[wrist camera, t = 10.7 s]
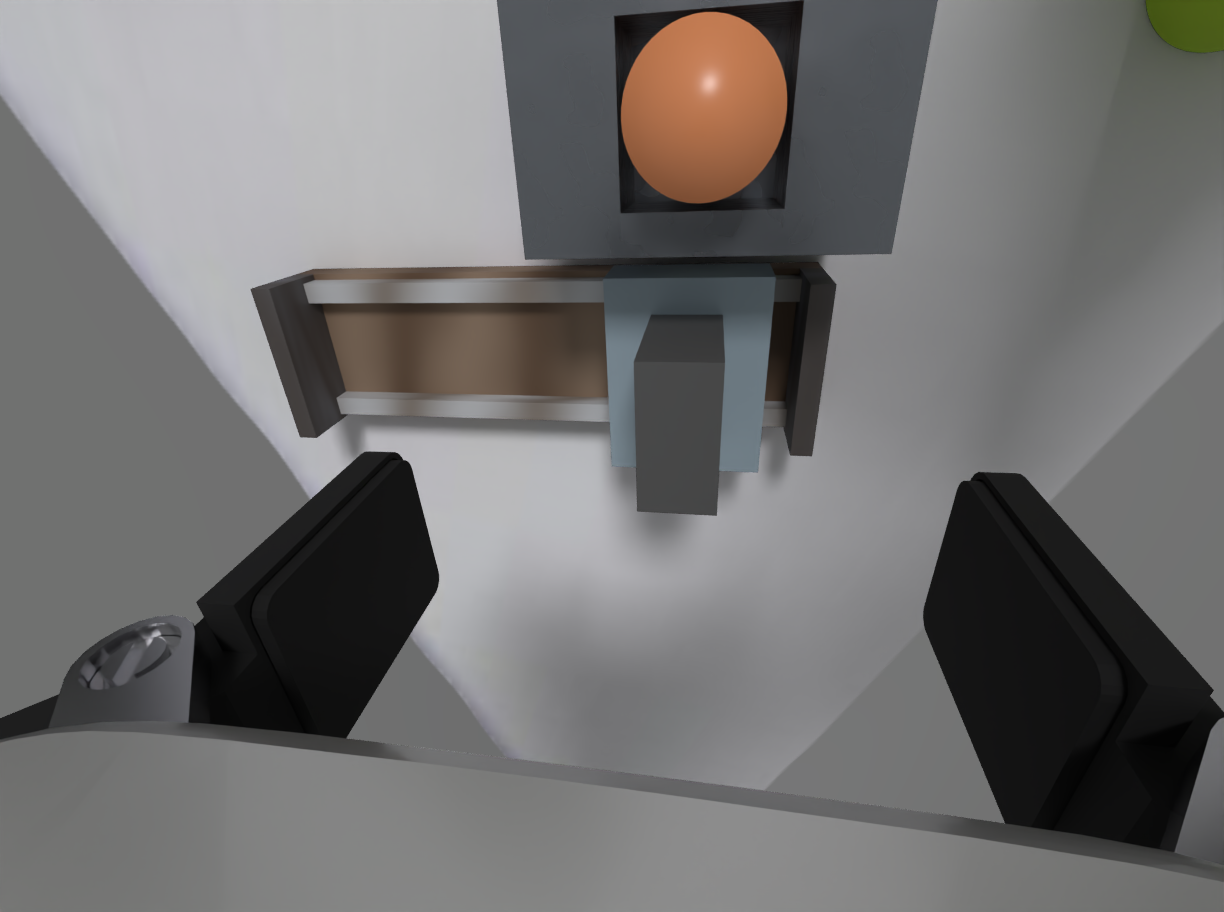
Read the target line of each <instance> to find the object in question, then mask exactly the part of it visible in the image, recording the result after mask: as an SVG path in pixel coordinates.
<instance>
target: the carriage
mask: <svg viewBox="0 0 1224 912" xmlns="http://www.w3.org/2000/svg"><path fill="white" fill-rule="evenodd" d="M775 282H776V276H775V274H774V272H773V269H772V267H771V265H770V263H746V264H673V265H614V266H613V267H612V268H611V270H610V271H609V272H608V273H607V274H606V276H605V277H604V278H603V290H604V312H605V333H606V354H607V375H608V396H609V417H610V439H611V460H612V466H615V467H636V481H637V511H640V512H658V513H677V514H695V515H714V516H717V500H718V482H719V471H734V472H758V465H759V455H760V444H761V433H762V422H763V411H764V401H765V390H766V379H767V368H768V358H769V347H770V336H771V325H772V314H773V304H774V293H775Z"/></svg>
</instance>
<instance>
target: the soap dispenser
mask: <svg viewBox="0 0 1224 912" xmlns="http://www.w3.org/2000/svg"><path fill="white" fill-rule="evenodd" d="M1146 7H1147V12H1148V16H1149V19H1150V21H1151V24H1152V26H1153V27H1154V29H1155V31H1156V32H1157V33H1158V35H1159V36H1160V37H1161V38H1162V39H1163V40H1165V41H1166V42H1167V43H1169V44H1170V45H1172V46H1174V47H1176V48H1178V49H1181V50H1184V51H1189V52H1197V53H1206V52H1216V51H1222V50H1224V0H1146Z"/></svg>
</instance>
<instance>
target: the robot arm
mask: <svg viewBox="0 0 1224 912" xmlns="http://www.w3.org/2000/svg"><path fill="white" fill-rule="evenodd" d="M438 584H439V572H438V568H437V564H436V560H435V557H434V553H433V549H432V545H431V541H430V537H429V533H428V529H427V526H426V522H425V518H424V514H423V510H422V506H421V502H420V498H419V495H418V491H417V487H416V483H415V479H414V475H413V471H412V468H411V465H410V464H409V462H407V461H406V460H403V459H402V457H401V456H400V455H399V454H398V453H396V452H364V453H362V454H361V455H360V456H359V457H357V458H356V459H355V460H354V461H353V462H352V463H351V464H350V465H349V466H347V467H346V468H345V469H344V470H343V471H342V472H341V473H340V474H339V475H337V476H336V477H335V478H334V479H333V480H332V481H331V482H330V483H328V484H327V485H326V486H325V487H324V488H323V489H322V490H321V491H320V492H318V493H317V494H316V495H315V496H314V497H313V498H312V499H311V500H310V501H308V502H307V503H306V504H305V505H304V506H303V507H302V508H301V509H300V510H298V511H297V512H296V513H295V514H294V515H293V516H292V517H291V518H289V519H288V520H287V521H286V522H285V523H284V524H283V525H282V526H281V527H279V528H278V529H277V530H276V531H275V532H274V533H273V534H272V535H271V536H269V537H268V538H267V539H266V540H265V541H264V542H263V543H262V544H261V545H259V547H257V548H256V549H255V550H254V551H253V552H252V553H251V554H249V555H248V556H247V557H246V558H245V559H244V560H243V561H242V562H241V563H239V564H238V565H237V566H236V567H235V568H234V569H233V570H232V571H230V572H229V573H228V574H227V575H226V576H225V577H224V578H223V579H222V580H221V581H219V582H218V583H217V584H216V585H215V586H214V587H213V588H212V589H210V590H209V591H208V592H207V593H206V594H205V595H204V596H203V597H202V598H200V599H199V600H198V601H197V605H198V606H199V608H200V610H201V612H202V614H203V616H204V618H203V619H202V620H201V621H200V622H199V623H197V624H196V625H195V626H194V624H193V623H192V622H191V621H189V620H188V619H187V618H185V617H181V616H175V615H169V616H157V617H153V618H149V619H146V620H142V621H138V622H136V623H133V624H131V625H129V626H126V627H124V628H121V629H119V630H117V631H115V632H114V633H112V634H110V635H108V636H107V637H105V638H103V639H101V640H100V641H98V642H97V643H96V644H94V645H93V646H92V647H90V648H89V649H88V650H86V651H85V652H84V653H83V654H82V655H81V656H80V657H79V658H78V659H77V660H76V661H75V662H74V664H72V666H71V667H70V669H69V671H68V673H67V674H66V676H65V678H64V681H63V684H62V687H61V690H60V693H59V695H56V696H54V697H51V698H49V699H47V700H44V701H42V702H39V703H37V704H34V705H32V706H29V707H27V708H24V709H22V710H20V711H17V712H15V713H12V714H10V715H7V716H5V717H2V718H0V912H1224V712H1223V711H1222V710H1221V708H1220V707H1219V706H1218V705H1217V704H1216V703H1215V702H1214V701H1213V699H1212V698H1211V697H1210V695H1211V694H1212V692H1213V691H1214V690H1213V689H1212V688H1211V687H1210V685H1208V683H1207V682H1206V681H1205V680H1204V679H1203V678H1202V677H1201V675H1200V674H1199V673H1198V672H1197V671H1196V670H1195V669H1194V667H1192V665H1191V664H1190V663H1189V662H1188V661H1187V660H1186V658H1185V657H1184V656H1183V655H1182V654H1181V653H1180V652H1179V650H1177V648H1176V647H1175V646H1174V645H1173V644H1172V643H1171V641H1169V639H1168V638H1167V637H1166V636H1165V635H1164V634H1163V632H1162V631H1161V630H1160V629H1159V628H1158V627H1157V626H1156V625H1155V623H1154V622H1153V621H1152V620H1151V619H1150V618H1149V617H1148V616H1147V615H1146V613H1145V612H1144V611H1143V610H1142V609H1141V608H1140V606H1139V605H1138V604H1137V603H1136V602H1135V601H1134V600H1133V599H1132V597H1130V595H1129V594H1128V593H1127V592H1126V591H1125V590H1124V588H1123V587H1122V586H1121V585H1120V584H1119V583H1118V582H1117V581H1116V579H1115V578H1114V577H1113V576H1112V575H1111V574H1110V573H1109V572H1108V571H1107V569H1106V568H1105V567H1104V566H1103V565H1102V564H1101V562H1100V561H1099V560H1098V559H1097V558H1096V557H1095V556H1094V555H1093V554H1092V552H1091V551H1090V550H1089V549H1088V548H1087V547H1086V546H1085V544H1084V543H1083V542H1082V541H1081V540H1080V539H1079V538H1078V537H1077V535H1076V534H1075V533H1074V532H1073V531H1072V530H1071V529H1070V528H1069V526H1068V525H1067V524H1066V523H1065V522H1064V521H1063V520H1062V518H1061V517H1060V516H1059V515H1058V514H1057V513H1056V512H1055V511H1054V510H1053V509H1052V507H1051V506H1050V505H1049V504H1048V503H1047V502H1046V500H1045V499H1044V498H1043V497H1042V496H1041V495H1040V494H1039V493H1038V491H1037V490H1036V489H1035V488H1034V487H1033V486H1032V485H1031V484H1030V482H1029V481H1028V480H1027V479H1026V478H1025V477H1024V476H1023V475H1021V474H1017V473H990V472H978V473H976V474H974V476H973V477H972V478H971V481H963V482H961V483H960V485H959V487H958V489H957V492H956V496H955V499H954V503H953V506H952V510H951V514H950V517H949V521H948V524H947V528H946V531H945V535H944V538H943V542H942V545H941V549H940V553H939V556H938V560H937V563H936V567H935V570H934V574H933V577H932V581H931V584H930V588H929V592H928V595H927V599H926V602H925V606H924V611H923V620H924V627H925V630H926V633H927V635H928V638H929V640H930V643H931V645H932V647H933V650H934V652H935V655H936V657H937V660H938V661H939V664H940V667H941V669H942V671H943V674H944V676H945V679H946V681H947V684H948V686H949V688H950V691H951V693H952V696H953V698H954V701H955V703H956V705H957V708H958V710H959V713H960V715H961V717H962V720H963V722H964V725H965V727H966V730H967V732H968V734H969V737H970V739H971V742H972V744H973V747H974V749H975V751H976V754H977V756H978V758H979V761H980V763H981V766H982V768H983V771H984V773H985V776H986V778H987V780H988V783H989V785H990V788H991V790H992V792H993V795H994V797H995V800H996V802H997V805H998V807H999V809H1000V812H1001V814H1002V817H1003V819H1004V821H1005V824H1004V823H998V822H991V821H984V820H977V819H970V818H964V817H957V816H950V815H943V814H936V813H930V812H923V811H914V810H907V809H900V808H892V807H884V806H876V805H869V804H861V803H854V802H846V801H839V800H831V799H823V798H815V797H808V796H800V795H793V794H786V793H778V792H770V791H763V790H755V789H747V788H740V787H732V786H725V785H717V784H709V783H702V782H694V781H686V780H678V779H670V778H662V777H654V776H646V775H638V774H631V773H623V772H615V771H607V770H599V769H591V768H583V767H575V766H567V765H559V764H551V763H543V762H535V761H527V760H519V759H511V758H503V757H494V756H487V755H479V754H470V753H462V752H454V751H446V750H438V749H429V748H421V747H413V746H404V745H396V744H386V743H379V742H371V741H362V740H354V739H346V738H347V736H348V734H349V733H350V731H351V729H352V728H353V726H354V724H355V723H356V721H357V720H358V718H359V716H360V715H361V713H362V712H363V710H364V708H365V707H366V705H367V703H368V702H369V700H370V699H371V697H372V695H373V694H374V692H375V690H376V689H377V687H378V685H379V684H380V682H381V681H382V679H383V678H384V676H385V674H386V673H387V671H388V669H389V668H390V666H391V665H392V663H393V661H394V659H395V658H396V656H397V654H398V653H399V652H400V650H401V648H402V647H403V645H404V643H405V642H406V640H407V639H408V637H409V635H410V634H411V632H412V630H413V629H414V627H415V626H416V624H417V622H418V621H419V619H420V618H421V616H422V614H423V613H424V611H425V609H426V608H427V606H428V605H429V603H430V601H431V600H432V598H433V596H434V595H435V593H436V591H437V588H438Z"/></svg>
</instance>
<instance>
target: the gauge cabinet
mask: <svg viewBox="0 0 1224 912" xmlns="http://www.w3.org/2000/svg"><path fill="white" fill-rule="evenodd" d="M937 1H938V0H497V5H498V15H499V24H500V33H501V42H502V51H503V61H504V70H505V79H506V88H507V97H508V107H509V116H510V125H511V134H512V143H513V153H514V162H515V171H516V180H517V190H518V199H519V208H520V217H521V226H522V236H523V245H524V254H525V260H529V259H593V258H658V257H722V256H786V255H850V254H891V253H892V248H893V242H894V237H895V231H896V226H897V220H898V215H899V209H900V204H901V198H902V193H903V187H904V182H905V176H906V171H907V166H908V160H909V155H910V149H911V144H912V138H913V133H914V127H915V122H916V116H917V111H918V105H919V100H920V94H921V89H922V83H923V78H924V72H925V67H926V61H927V56H928V51H929V45H930V40H931V34H932V29H933V23H934V18H935V12H936V7H937ZM702 12H719V13H726V14H730V15H733V16H736V17H739V18H741V19H742V20H744V21H746V22H748V23H750V24H751V25H752V26H754V27H755V28H756V29H758V30H759V31H760V32H761V33H762V34H763V35H764V37H765V38H766V39H767V40H768V41H769V43H770V44H771V46H772V47H773V48H774V50H775V52H776V54H777V56H778V58H779V60H780V63H781V66H782V69H783V72H784V76H785V81H786V88H787V112H786V119H785V124H784V128H783V132H782V135H781V138H780V140H779V143H778V146H777V148H776V150H775V152H774V153H773V155H772V157H771V159H770V160H769V162H768V163H767V165H766V166H765V168H764V169H763V170H762V171H761V172H760V173H759V175H758V176H757V177H756V178H755V179H754V180H753V181H751V182H750V183H749V184H748V185H747V186H745V187H744V188H743V189H741V190H740V191H738V192H736V193H735V194H733V195H731V196H729V197H726V198H724V199H721V200H718V201H714V202H709V203H686V202H681V201H677V200H674V199H671V198H669V197H667V196H665V195H663V194H661V193H660V192H658V191H657V190H655V189H654V188H653V187H652V186H650V185H649V184H648V183H647V182H646V181H645V180H644V179H643V177H642V176H641V175H640V174H639V173H638V171H637V169H636V168H635V166H634V165H633V163H632V161H631V159H630V156H629V154H628V152H627V149H626V146H625V143H624V138H623V133H622V124H621V105H622V98H623V92H624V88H625V84H626V81H627V78H628V76H629V73H630V70H631V68H632V66H633V64H634V62H635V60H636V58H637V57H638V55H639V54H640V52H641V51H642V50H643V48H644V47H645V46H646V45H647V43H648V42H649V41H650V40H651V39H652V38H653V37H654V36H655V35H656V34H657V33H658V32H659V31H661V30H662V29H663V28H665V27H666V26H668V25H669V24H671V23H672V22H674V21H676V20H678V19H680V18H682V17H686V16H689V15H692V14H696V13H702Z"/></svg>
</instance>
